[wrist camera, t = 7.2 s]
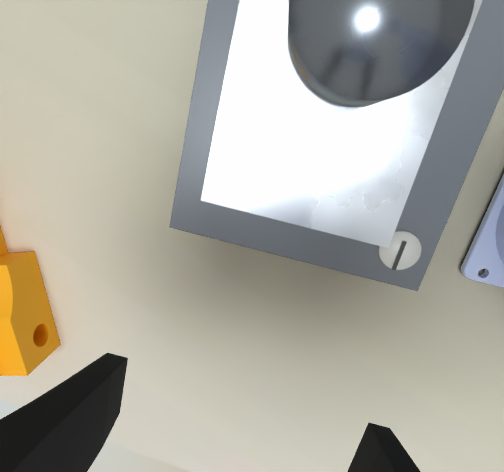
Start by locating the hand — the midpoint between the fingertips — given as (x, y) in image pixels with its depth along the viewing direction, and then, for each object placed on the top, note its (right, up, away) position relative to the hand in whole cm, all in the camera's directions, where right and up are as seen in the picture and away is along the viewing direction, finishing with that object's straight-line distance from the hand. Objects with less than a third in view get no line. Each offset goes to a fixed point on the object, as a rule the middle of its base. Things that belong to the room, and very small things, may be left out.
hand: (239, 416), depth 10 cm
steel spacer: (+4, +12, +2) cm, 12 cm away
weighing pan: (+4, +12, +3) cm, 13 cm away
